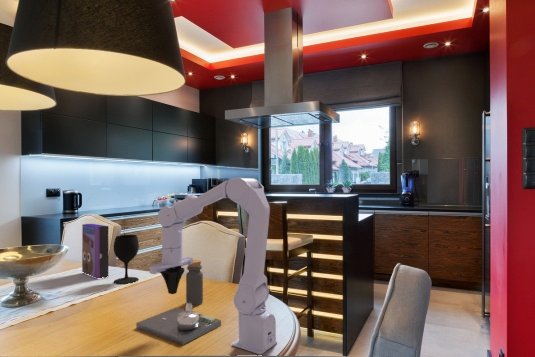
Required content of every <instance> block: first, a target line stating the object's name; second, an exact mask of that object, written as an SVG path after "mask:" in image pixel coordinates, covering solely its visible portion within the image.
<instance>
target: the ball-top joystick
mask: <svg viewBox="0 0 535 357" xmlns="http://www.w3.org/2000/svg"><path fill="white" fill-rule="evenodd" d="M192 309H193V306H192V303H186V304H185V310H186V312H182V313H180V314H178V316H177V327H178V328H179V329H181V330H190V329H194V328H196V327H198V325H199V314H200V313H199V312H198V311H195V310H194V311H193V310H192Z"/></svg>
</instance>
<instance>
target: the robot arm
mask: <svg viewBox="0 0 535 357" xmlns="http://www.w3.org/2000/svg"><path fill="white" fill-rule="evenodd" d="M264 188H265V187H264V186H263V185H262V184H261V182H260V181H258V179H256V178H253V177H246V178H245V177H237V176H236V177H232V178H230V179H227V180H224V181H223V182H221V183H220V184H218V185H216V186H214V187H213V188H211V189H209V190H207V191H206V192H204V193H202V194H200V195H199V196H197V195H194V194H192V195H191V194H187V195H185V196H184V199H182V200H180V201H174V202H172V205H171V206H167V205H166V206H162V208H161V209H160V210H159V211H158V214H157V221H158V223H159V225H161V228H162V229H161V255H162V256H161V258H162V259H161V262H159V263H158V262H157V263H156V264H154V265H150V266H149V274H150V275H151V274H152V275H156V274H157V273H160V275H161V276H162V278H163V280H164V283H165V284H166V288H167V292H168V294H170V295H175V294H177V292H178V287H179V285H180V281H181V279H182V276H183V274H184V272H185V267H184V266H188V264H193V260H194V258H193V257H191V256H190V257H189V256H186V257H183V229H184V223H185V222H186V221H187V220H189V219H191V218H194V217H196V216H197V215H200V214H202V212H203V211H204V210H203V209H204V207H206V206H209V205H211V204H214V203H216V202H219V201H220V200H222V199H229V200H231V201H232V202H234V203H236V204H237V205H239V206H240V207H242V208H243V209H244V210H245V211H246V212H247V214H248V224H247V225H248V226H247V232H246V236H247V237H246V245H245V258H244V264H243V265H244V266H243V273H242V276H241V278H240V280H239V282H238V286H237V291H235V293H234V296H233V304H234V306H235V308H236V310H237V311H238V339H236V340H235V341H233V342H232V343H231V346H233V347H236V348H239V349H243V350H246V351H248V352H250V353H254V354H257V355H263V354H264V353H265V352H267V351H268V350H270V349H271V348H272V347H274V346H275V345H276V344H277V343H278V340H277V339H276V338H277V330H276V327H277V325H276V321H277V320H276V318H275V315H274V314H273V313H270V312H269V311H268V310H267V308H266V301H267V300H268V299H269V297H270V290H269V287H268V278H267V276H266V275H265V266H266V265H265V264H266V254H267V244H268V234H269V226H270V225H269V223H270V212H271V207H270V204H269V202H268V200H267V197H266V193H265V189H264Z"/></svg>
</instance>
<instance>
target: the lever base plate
mask: <svg viewBox="0 0 535 357" xmlns="http://www.w3.org/2000/svg"><path fill="white" fill-rule="evenodd" d="M182 312H186V309H183V308H179V307H173V308H171V309H169V310H165V311H163V312H160V313H159V314H155V315H153V316H151V317H148V318H146V319H143V320H140V321H138V322H136V323H135V324H136V325H135V327H136V329H138V330H141V331H143V332H145V333H146V332H147V333H149V334H152V335H154V336H156V337H160V338H162V339H165V340H168V341H170V342H173V343H176V344H179V345H182V346H184V345H186V344H189V343H191V342H192V341H194V340H196V339H197V338H200V337H201V336H203V335H205V334H208V333H209V332H210V331H213V330H214V329H216V328H219V327H221V326H222V320H221V319H218V318H216V317H213V316H210V315H206V314H201V313H199V325H198V327H196V328H194V329H190V330H181V329H179V328H178V327H177V316H178V314H180V313H182Z"/></svg>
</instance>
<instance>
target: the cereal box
mask: <svg viewBox="0 0 535 357" xmlns="http://www.w3.org/2000/svg"><path fill="white" fill-rule="evenodd" d="M81 227H82V228H81V231H82V233H81V237H82V238H81V240H82V243H81V245H82V247H81V248H82V250H81V251H82V252H81V255H82V256H81V259H82V261H81V262H82V263H81V264H82V265H81V268H82V269H81V270H82V271H81V272H84V273H86V274H89V275H91V276H93V277H96V278H102V277H107V276H108V277H109V225H104V224H96V223H85V224H83V223H82V226H81ZM93 277H92V278H93ZM108 277H107V278H108ZM102 279H103V278H102Z"/></svg>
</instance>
